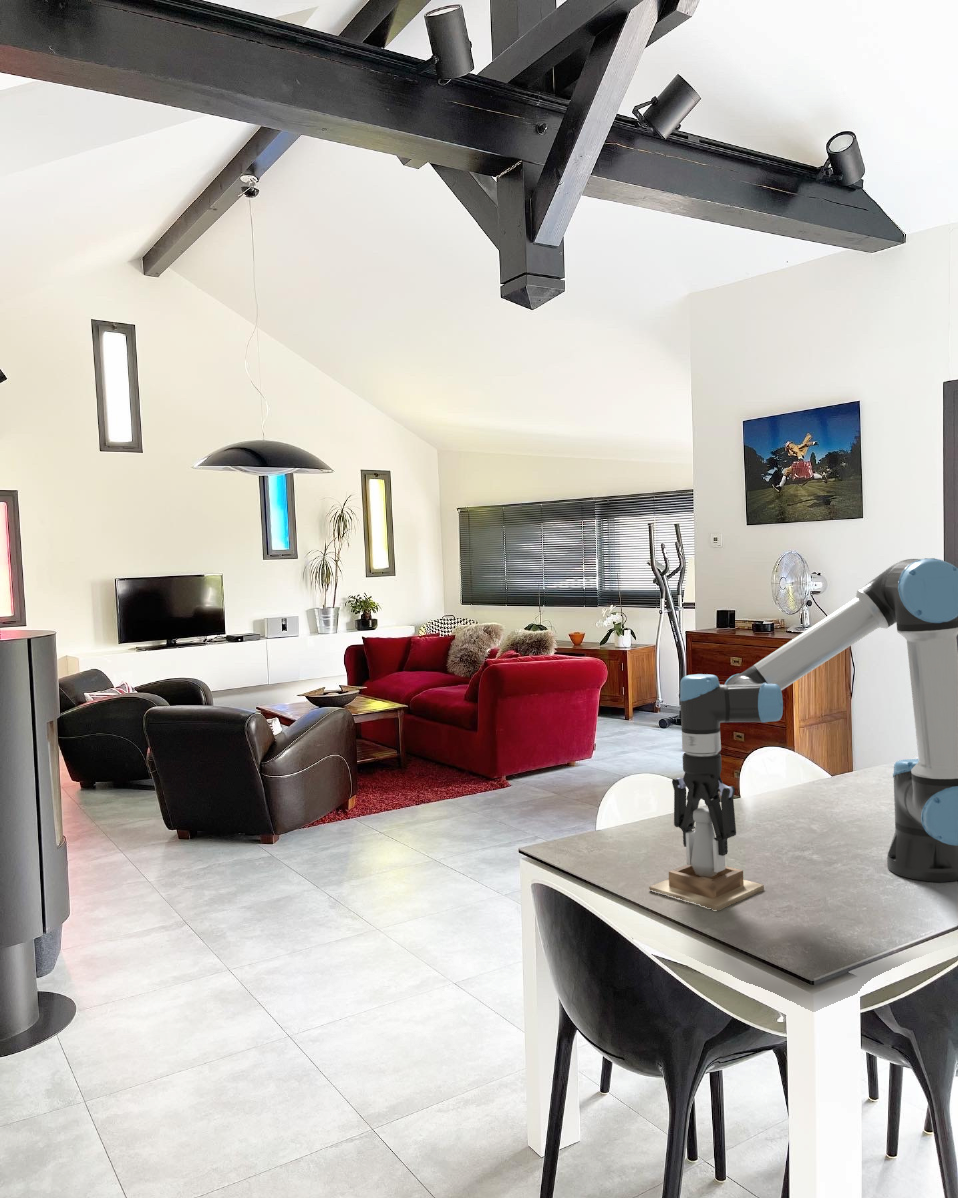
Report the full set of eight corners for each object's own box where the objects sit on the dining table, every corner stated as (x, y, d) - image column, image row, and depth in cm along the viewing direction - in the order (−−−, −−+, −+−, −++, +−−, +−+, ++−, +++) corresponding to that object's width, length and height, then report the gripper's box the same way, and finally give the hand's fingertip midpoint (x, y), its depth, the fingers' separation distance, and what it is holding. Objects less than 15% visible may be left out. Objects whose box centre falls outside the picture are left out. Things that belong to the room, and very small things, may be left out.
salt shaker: (699, 867, 190) (697, 804, 190) (725, 871, 186) (723, 807, 186) (686, 875, 186) (683, 810, 185) (713, 880, 182) (710, 814, 182)
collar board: (763, 889, 185) (763, 870, 185) (716, 911, 175) (715, 890, 175) (697, 872, 197) (696, 853, 197) (649, 891, 187) (648, 872, 187)
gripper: (652, 749, 190) (656, 861, 191) (730, 761, 176) (735, 882, 176) (675, 744, 195) (679, 853, 196) (753, 755, 181) (757, 872, 181)
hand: (705, 866), depth 186 cm, fingers closed on salt shaker, 6 cm apart
